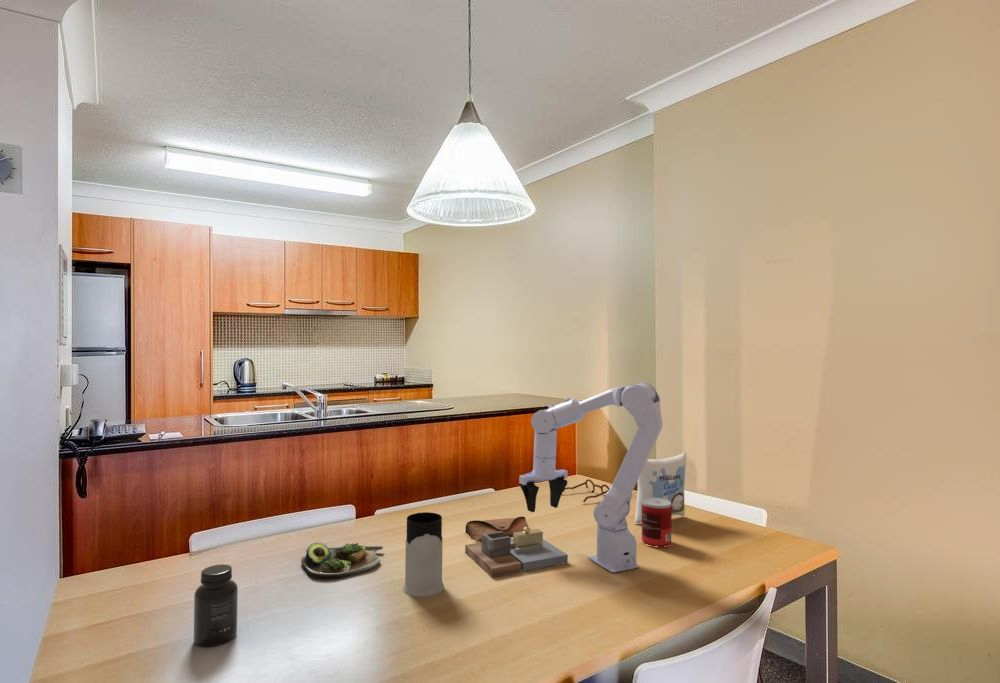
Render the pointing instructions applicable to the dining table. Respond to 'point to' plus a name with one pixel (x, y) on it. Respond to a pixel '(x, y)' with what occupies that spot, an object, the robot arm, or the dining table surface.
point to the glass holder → (423, 555)
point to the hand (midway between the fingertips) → (542, 508)
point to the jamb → (494, 554)
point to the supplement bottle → (215, 607)
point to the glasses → (588, 488)
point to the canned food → (656, 521)
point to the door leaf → (538, 556)
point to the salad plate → (338, 560)
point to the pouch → (662, 483)
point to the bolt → (527, 538)
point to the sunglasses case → (495, 527)
